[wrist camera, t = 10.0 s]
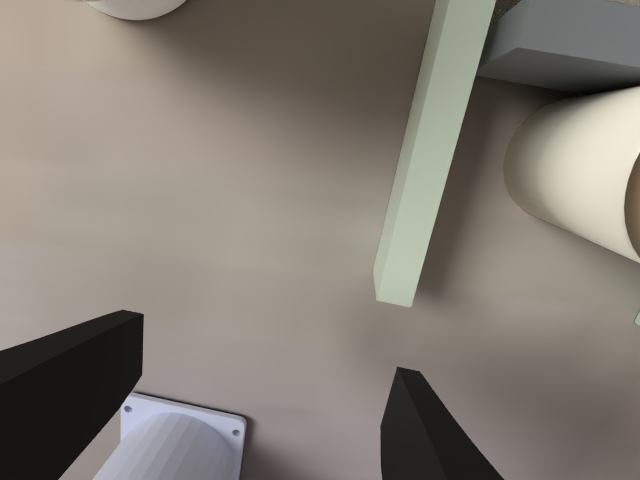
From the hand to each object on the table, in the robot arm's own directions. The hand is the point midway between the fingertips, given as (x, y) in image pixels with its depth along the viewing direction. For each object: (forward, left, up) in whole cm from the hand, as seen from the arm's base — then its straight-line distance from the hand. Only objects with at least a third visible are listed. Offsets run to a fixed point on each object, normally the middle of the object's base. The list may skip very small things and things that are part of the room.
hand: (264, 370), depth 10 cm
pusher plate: (+11, -11, -9) cm, 18 cm away
